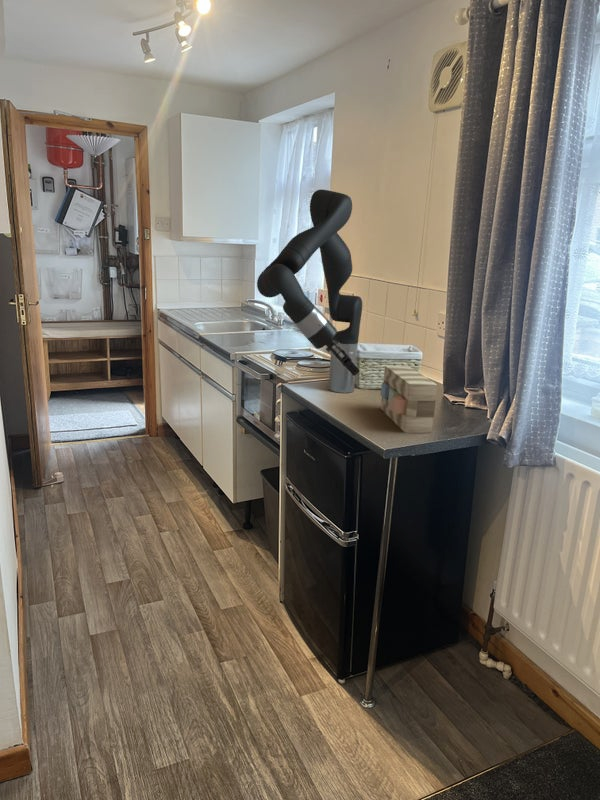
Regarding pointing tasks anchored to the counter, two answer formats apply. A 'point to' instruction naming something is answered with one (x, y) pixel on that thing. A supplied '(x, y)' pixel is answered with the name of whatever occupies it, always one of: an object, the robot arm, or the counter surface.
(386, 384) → the blue button
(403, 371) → the block
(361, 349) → the storage basket
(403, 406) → the terracotta button
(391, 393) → the green button
